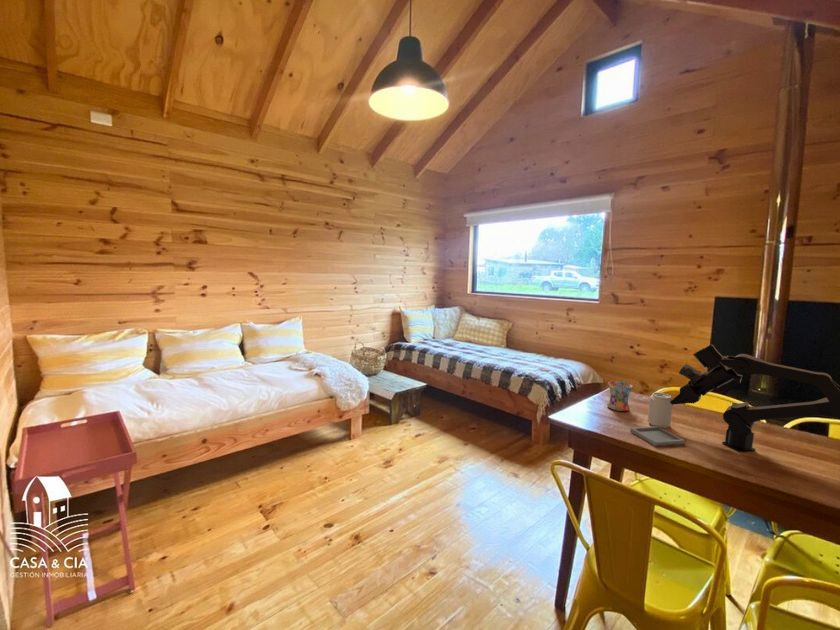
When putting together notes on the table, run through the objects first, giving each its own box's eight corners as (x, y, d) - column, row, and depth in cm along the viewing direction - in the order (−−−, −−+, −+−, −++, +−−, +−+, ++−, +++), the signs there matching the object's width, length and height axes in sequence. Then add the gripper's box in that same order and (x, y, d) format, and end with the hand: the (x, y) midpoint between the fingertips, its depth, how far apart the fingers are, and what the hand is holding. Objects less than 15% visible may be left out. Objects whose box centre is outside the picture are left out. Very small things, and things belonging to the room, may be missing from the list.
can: (661, 420, 152) (664, 391, 150) (674, 429, 144) (678, 398, 143) (642, 420, 151) (646, 391, 149) (655, 429, 144) (659, 398, 142)
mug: (625, 414, 157) (628, 389, 156) (602, 408, 164) (604, 383, 162) (635, 407, 165) (638, 383, 164) (613, 401, 172) (615, 378, 171)
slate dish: (684, 444, 131) (685, 440, 131) (655, 446, 129) (655, 442, 129) (657, 430, 143) (658, 426, 142) (630, 431, 140) (630, 427, 140)
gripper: (702, 355, 144) (665, 377, 153) (691, 363, 131) (651, 386, 140) (726, 381, 139) (686, 402, 148) (716, 391, 126) (673, 414, 136)
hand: (674, 400), depth 143 cm, fingers open, 9 cm apart
